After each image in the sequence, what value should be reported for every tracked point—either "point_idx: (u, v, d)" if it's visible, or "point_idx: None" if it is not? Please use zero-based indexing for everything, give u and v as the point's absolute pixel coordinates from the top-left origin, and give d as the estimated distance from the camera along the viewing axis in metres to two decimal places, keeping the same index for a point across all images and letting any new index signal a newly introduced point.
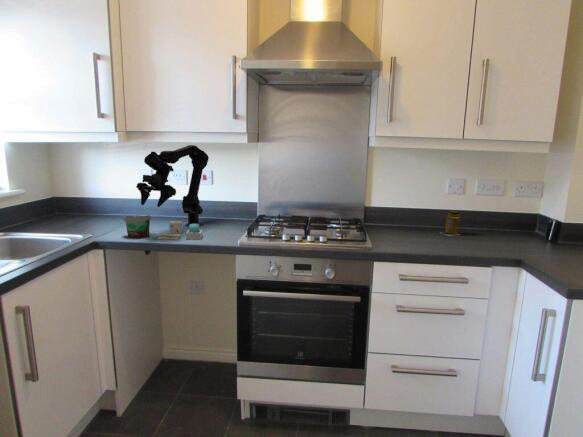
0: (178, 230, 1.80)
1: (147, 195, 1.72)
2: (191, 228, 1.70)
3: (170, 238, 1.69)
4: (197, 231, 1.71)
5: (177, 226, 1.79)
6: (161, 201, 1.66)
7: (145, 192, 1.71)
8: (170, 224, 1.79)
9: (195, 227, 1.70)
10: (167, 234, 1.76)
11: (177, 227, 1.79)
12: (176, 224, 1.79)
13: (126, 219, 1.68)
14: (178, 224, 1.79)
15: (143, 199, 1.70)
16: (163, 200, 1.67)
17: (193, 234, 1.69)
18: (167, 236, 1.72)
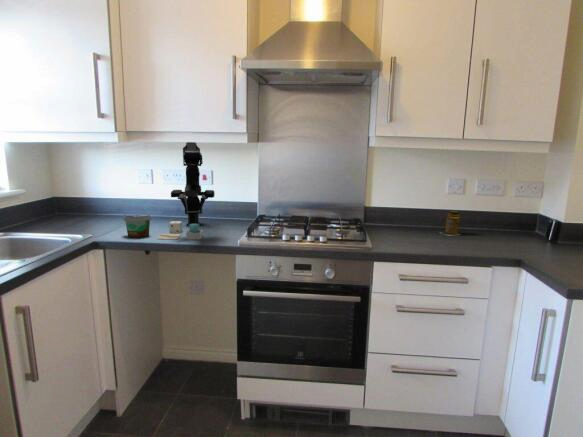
0: (178, 230, 1.80)
1: (186, 200, 1.70)
2: (191, 228, 1.70)
3: (170, 238, 1.69)
4: (197, 231, 1.71)
5: (177, 226, 1.79)
6: (202, 206, 1.70)
7: (185, 199, 1.68)
8: (170, 224, 1.79)
9: (195, 227, 1.70)
10: (167, 234, 1.76)
11: (177, 227, 1.79)
12: (176, 224, 1.79)
13: (126, 219, 1.68)
14: (178, 224, 1.79)
15: (186, 206, 1.69)
16: None
17: (193, 234, 1.69)
18: (167, 236, 1.72)
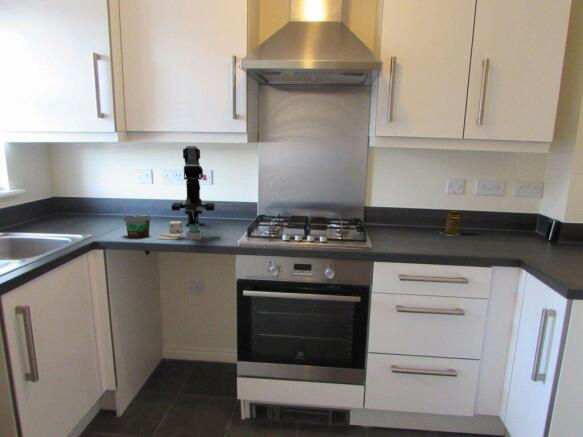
0: (178, 230, 1.80)
1: (193, 212, 1.72)
2: (191, 228, 1.70)
3: (170, 238, 1.69)
4: (197, 231, 1.71)
5: (177, 226, 1.79)
6: (196, 219, 1.71)
7: (192, 212, 1.70)
8: (170, 224, 1.79)
9: (195, 227, 1.70)
10: (167, 234, 1.76)
11: (177, 227, 1.79)
12: (176, 224, 1.79)
13: (126, 219, 1.68)
14: (178, 224, 1.79)
15: (193, 219, 1.71)
16: (197, 217, 1.72)
17: (193, 234, 1.69)
18: (167, 236, 1.72)
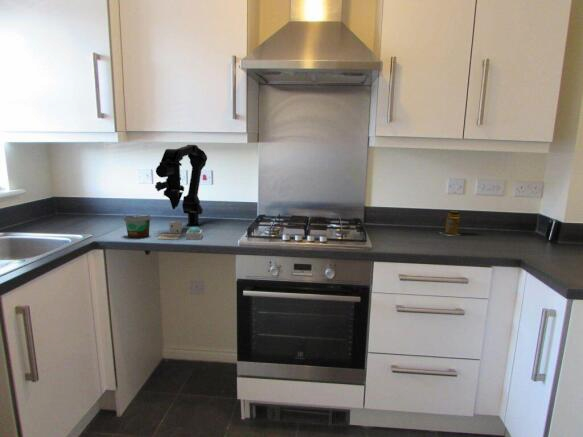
0: (178, 230, 1.80)
1: (178, 196, 1.82)
2: (191, 231, 1.70)
3: (170, 238, 1.69)
4: None
5: (177, 226, 1.79)
6: (172, 203, 1.76)
7: None
8: (170, 224, 1.79)
9: (195, 230, 1.70)
10: (167, 234, 1.76)
11: (177, 227, 1.79)
12: (176, 224, 1.79)
13: (126, 219, 1.68)
14: (178, 224, 1.79)
15: None
16: (174, 202, 1.75)
17: (193, 234, 1.69)
18: (167, 236, 1.72)
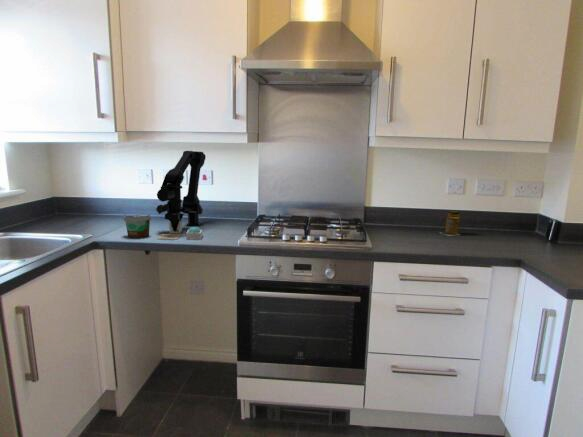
0: (178, 230, 1.80)
1: (179, 217, 1.84)
2: (191, 231, 1.70)
3: (170, 238, 1.69)
4: None
5: None
6: (173, 226, 1.78)
7: None
8: (170, 224, 1.79)
9: (195, 230, 1.70)
10: (167, 234, 1.76)
11: (177, 227, 1.79)
12: None
13: (126, 219, 1.68)
14: (178, 224, 1.79)
15: None
16: (175, 224, 1.78)
17: (193, 234, 1.69)
18: (167, 236, 1.72)
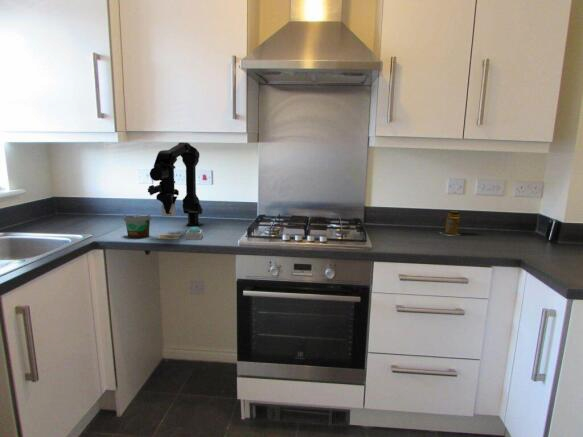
0: (171, 212, 1.69)
1: (172, 200, 1.73)
2: (191, 231, 1.70)
3: (170, 238, 1.69)
4: None
5: None
6: (166, 208, 1.67)
7: None
8: (162, 206, 1.68)
9: (195, 230, 1.70)
10: (167, 234, 1.76)
11: (170, 209, 1.68)
12: None
13: (126, 219, 1.68)
14: (171, 206, 1.68)
15: None
16: (167, 206, 1.67)
17: (193, 234, 1.69)
18: (167, 236, 1.72)
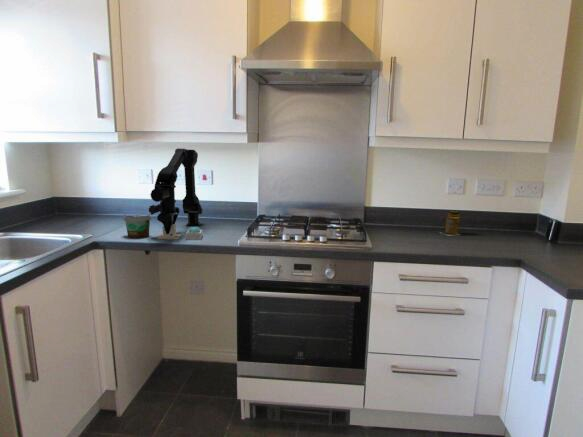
0: (172, 234, 1.70)
1: (174, 218, 1.76)
2: (191, 231, 1.70)
3: (170, 238, 1.69)
4: None
5: (171, 230, 1.70)
6: (166, 228, 1.67)
7: None
8: (163, 228, 1.69)
9: (195, 230, 1.70)
10: None
11: (171, 231, 1.70)
12: None
13: (126, 219, 1.68)
14: (172, 228, 1.70)
15: None
16: (168, 227, 1.67)
17: (193, 234, 1.69)
18: None
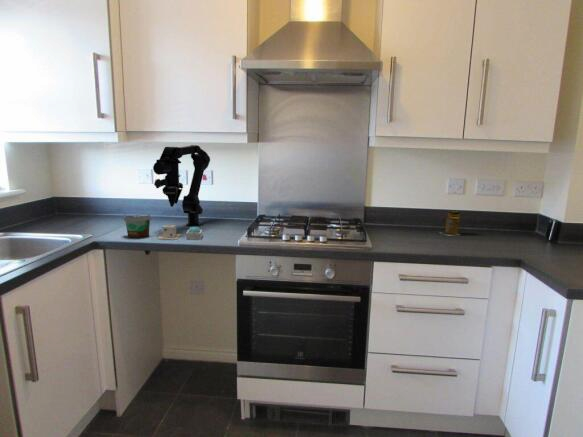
0: (172, 234, 1.70)
1: (178, 192, 1.86)
2: (191, 231, 1.70)
3: (170, 238, 1.69)
4: None
5: (171, 230, 1.70)
6: (171, 201, 1.76)
7: None
8: (163, 228, 1.69)
9: (195, 230, 1.70)
10: None
11: (171, 231, 1.70)
12: (170, 228, 1.70)
13: (126, 219, 1.68)
14: (172, 228, 1.70)
15: None
16: (172, 199, 1.76)
17: (193, 234, 1.69)
18: None
